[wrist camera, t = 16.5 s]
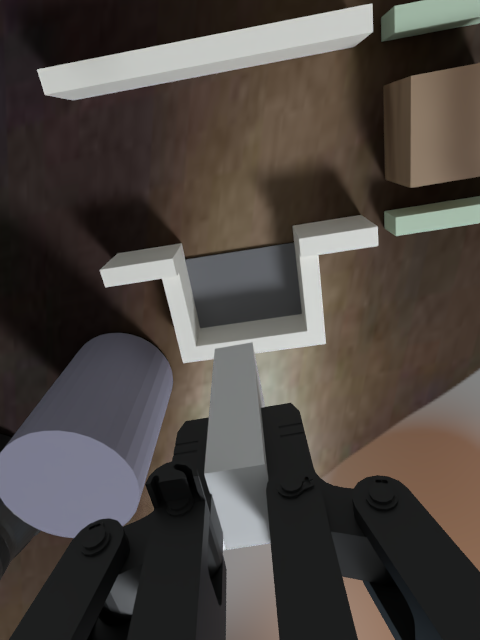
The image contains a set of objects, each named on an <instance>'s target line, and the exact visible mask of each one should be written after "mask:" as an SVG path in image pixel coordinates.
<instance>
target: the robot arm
mask: <svg viewBox="0 0 480 640" xmlns="http://www.w3.org/2000/svg"><path fill="white" fill-rule="evenodd" d="M11 438H12V437H10V436H7V435H3V434H0V453H1V451H2V450H3V449H4V447H5V446H6V445H7V443H8V442H9V441H10V440H11ZM175 445H176V446H175V449H174V456H173V459H172V462H169V463H166V464H164V465H162V466H161V467H159V468H157V469H156V470H155V471H154V472H153V473H152V474H151V475H150V476H149V478H148V480H147V482H146V484H145V485H146V488H147V490H148V493H149V496H150V498H151V501H152V504H153V506H154V511H153V512H152V513H150V514H149V515H148V516H146V517H144V518H142V519H140V520H138V521H136V522H133V523H131V524H129V525H126V526H124V527H123V526H122V525H121V524H120V523H119V522H118V521H117V520H114V519H111V518H107V519H100V520H97V521H95V522H93V523H90V524H89V525H87V526H86V527H85V528H83V529H82V530H81V531H80V532H79V533H78V534H77V535H76V536H75V538H74V539H73V540H72V542H71V543H70V545H69V546H68V548H67V549H66V551H65V553H64V554H63V556H62V557H61V559H60V560H59V562H58V564H57V565H56V567H55V568H54V570H53V571H52V573H51V575H50V576H49V578H48V579H47V581H46V582H45V584H44V586H43V587H42V589H41V590H40V592H39V593H38V595H37V597H36V598H35V600H34V601H33V603H32V604H31V606H30V608H29V609H28V611H27V612H26V614H25V615H24V617H23V619H22V620H21V622H20V623H19V625H18V626H17V628H16V630H15V631H14V633H13V634H12V636H11V637H10V639H9V640H226V566H225V561H224V557H223V540H224V544H225V547H226V550H228V549H235V548H241V547H247V546H255V545H262V544H269V543H271V552H272V562H273V573H274V584H275V595H276V606H277V617H278V627H279V638H280V640H358V638H357V634H356V630H355V626H354V622H353V618H352V614H351V610H350V606H349V602H348V598H347V594H346V590H345V586H344V583H343V578H342V576H343V577H348V578H353V579H358V580H363V583H364V585H365V587H366V588H367V590H368V592H369V594H370V596H371V597H372V599H373V601H374V603H375V605H376V606H377V608H378V610H379V612H380V613H381V615H382V617H383V619H384V620H385V622H386V624H387V626H388V628H389V629H390V631H391V633H392V635H393V637H394V638H395V640H480V572H479V571H478V569H477V568H476V567H475V566H474V565H473V564H472V562H471V561H470V560H469V559H468V558H467V557H466V555H465V554H464V553H463V552H462V551H461V550H460V548H459V547H458V546H457V545H456V544H455V543H454V542H453V540H452V539H451V538H450V537H449V536H448V535H447V533H446V532H445V531H444V530H443V529H442V528H441V526H440V525H439V524H438V523H437V522H436V521H435V519H434V518H433V517H432V516H431V515H430V514H429V512H428V511H427V510H426V509H425V508H424V507H423V506H422V504H421V503H420V502H419V501H418V500H417V499H416V497H415V496H414V495H413V494H412V493H411V491H410V490H409V489H408V488H407V487H406V486H405V485H403V484H402V483H401V482H399V481H397V480H395V479H393V478H390V477H387V476H378V475H377V476H372V477H367V478H365V479H363V480H361V481H360V482H358V483H357V485H356V486H355V488H354V489H351V488H343V487H338V486H333V485H331V484H329V483H326V482H325V481H323V480H322V479H321V478H320V477H319V476H318V475H317V474H316V472H315V470H314V468H313V464H312V460H311V456H310V452H309V448H308V444H307V440H306V436H305V431H304V427H303V424H302V419H301V415H300V411H299V410H298V409H297V408H296V407H295V406H294V405H293V404H291V403H287V404H281V405H275V406H269V407H265V405H264V398H263V393H262V388H261V383H260V378H259V373H258V368H257V362H256V357H255V352H254V347H253V342H251V343H245V344H239V345H234V346H228V347H222V348H217V349H215V352H214V363H213V375H212V387H211V398H210V410H209V418H203V419H197V420H191V421H185V423H184V424H183V426H182V427H181V428H180V430H179V431H178V433H177V438H176V443H175ZM40 531H41V530H39V529H36V528H34V527H33V526H31V525H29V524H27V523H25V522H24V521H23V520H21V519H20V518H19V517H17V516H16V515H15V514H13V512H12V511H11V510H10V509H9V508H8V507H7V506H6V505H5V504H4V502H3V501H2V499H1V498H0V580H1V577H2V576H3V574H4V572H5V570H6V569H7V567H8V565H9V563H10V562H11V561H12V559H13V558H14V557H15V556H16V555H18V554H19V552H20V551H21V550H22V549H23V548H24V547H25V546H26V545H27V544H28V543H29V542H30V541H31V539H32V538H33V537H34V536H35V535H37V534H38V533H39V532H40Z"/></svg>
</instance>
